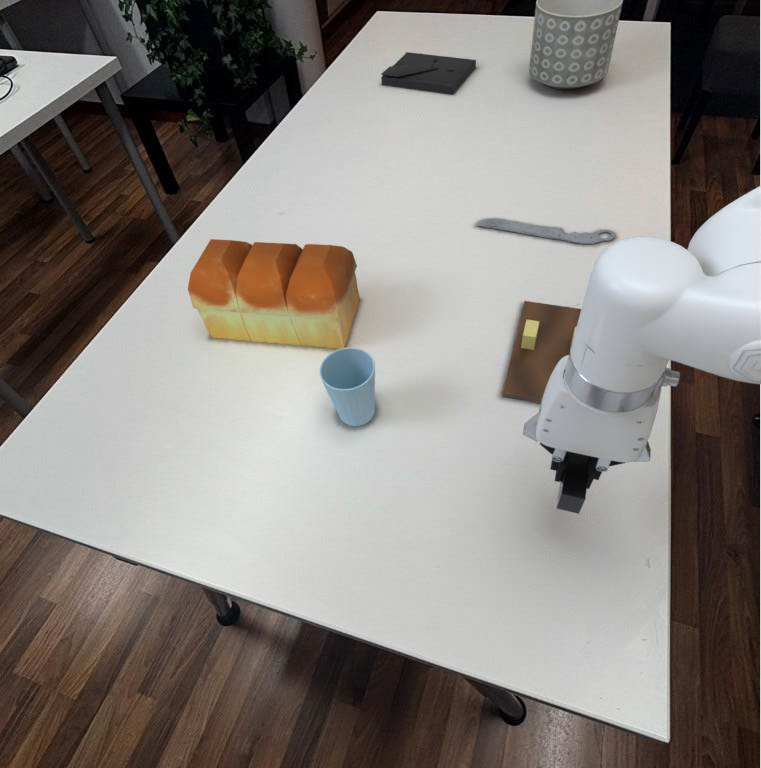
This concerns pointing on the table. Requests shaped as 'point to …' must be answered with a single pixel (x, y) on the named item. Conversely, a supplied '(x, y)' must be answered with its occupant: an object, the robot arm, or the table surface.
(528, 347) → the butter pat
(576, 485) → the screwdriver
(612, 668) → the table surface
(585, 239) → the knife
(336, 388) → the cup
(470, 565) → the table surface
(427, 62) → the picture frame
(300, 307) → the bread
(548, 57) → the planter
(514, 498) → the table surface
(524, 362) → the butter board
